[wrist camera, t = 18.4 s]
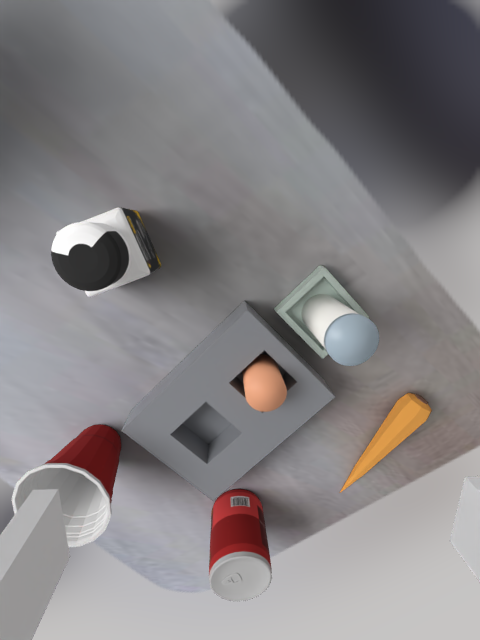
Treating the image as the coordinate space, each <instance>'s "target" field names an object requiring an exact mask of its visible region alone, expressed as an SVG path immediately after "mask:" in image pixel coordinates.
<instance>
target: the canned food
mask: <svg viewBox="0 0 480 640" xmlns="http://www.w3.org/2000/svg"><path fill="white" fill-rule="evenodd" d="M271 574H272V572H271V563H270V555H269V548H268V541H267V535H266V528H265V521H264V514H263V508H262V504H261V502H260V500H259V499H258V497H257V496H256V495H255V494H254V493H252V492H250V491H248V490H243V489H234V490H230V491H227V492H225V493H223V494H222V495H220V496H219V497H218V498H217V500H216V501H215V503H214V506H213V508H212V514H211V538H210V561H209V582H210V587H211V589H212V590H213V592H214V593H215V594H216V595H217V596H219V597H221V598H223V599H226V600H229V601H246V600H250V599H253V598H255V597H257V596H259V595H260V594H262V593H263V592H264V591H265V590H266V589H267V588H268V586H269V585H270V583H271V579H272V575H271Z"/></svg>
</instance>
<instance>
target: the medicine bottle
mask: <svg viewBox="0 0 480 640" xmlns="http://www.w3.org/2000/svg"><path fill="white" fill-rule="evenodd" d="M51 256H52V261H53V264H54V267H55V269H56V271H57V273H58V274H59V275H60V277H61V278H62V279H63V280H64V281H65V282H67V283H68V284H69V285H71V286H73V287H75V288H77V289H80V290H84V291H85V292H86V294H87V296H88V297H93V296H96V295H98V294H101V293H104V292H106V291H109V290H111V289H114V288H117V287H119V286H122V285H124V284H127V283H130V282H132V281H135V280H137V279H140V278H143V277H145V276H148V275H150V274H151V273H153V272H154V271H156V270H157V269H159V268H160V267H161V263H160V261H159V259H158V256H157V254H156V252H155V249H154V247H153V245H152V243H151V240H150V238H149V236H148V233H147V231H146V229H145V227H144V224H143V222H142V220H141V217H140V215H139V213H138V212H137V211H135V210H130V209H125V208H120V207H119V208H115V209H113V210H110V211H108V212H105V213H102V214H100V215H97V216H95V217H92V218H90V219H87V220H85V221H82V222H78V223H73V224H70V225H68V226H66V227H64V228H63V229H62V230H60V231H58V232H56V237H55V239H54V241H53V244H52V250H51Z"/></svg>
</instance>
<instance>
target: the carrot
mask: <svg viewBox="0 0 480 640" xmlns="http://www.w3.org/2000/svg"><path fill="white" fill-rule="evenodd" d="M431 411H432V410H431V408H430V407H429V405H428V402H427V401H426V400H425V399H424V398H422V397H421V396H419V395H417V394H416V395H414V394H411V393H407V394H406V395H404V396H403V397H401V398H400V399H398V401H397V402H396V404H395V405H394V407H393V408H392V410H391V411H390V413H389V414H388V416H387V418H386V419H385V421H384V422H383V424H382V425H381V427H380V428H379V430H378V431H377V433H376V434H375V436H374V437H373V439H372V440H371V442H370V444H369V445H368V447H367V448H366V450H365V451H364V453H363V454H362V456H361V457H360V459H359V460H358V462H357V463H356V465H355V467H354V468H353V470H352V472H351V474H350V476H349V477H348V479H347V481H346V483H345V484H344V486H343V488H342V490H341V491H340V492H342V491H343V490H344V489H346V488H347V487H348V486H350V485H351V484H352V483H353V482H355V481H356V480H357V479H359V478H360V477H361V476H363V475H364V474H365V473H366V472H368V471H369V470H370V469H371V468H372V467H373V466H374V465H376V464H377V463H378V462H379V461H380V460H381V459H382V458H384V457H385V456H386V455H387V454H388V453H389V452H391V451H392V450H393V449H394V448H395V447H396V446H397V445H399V444H400V443H401V442H402V441H403V440H404V439H406V438H407V437H408V436H409V435H410V434H411V433H412V432H414V431H415V430H416V429H417V428H418V427H419V426H420V425H422V424H423V423H424V422H425V421H426V420H427V419H428V417H429V415H430V413H431Z"/></svg>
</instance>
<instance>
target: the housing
mask: <svg viewBox="0 0 480 640" xmlns="http://www.w3.org/2000/svg"><path fill="white" fill-rule="evenodd" d="M260 354H264V355H268V356H270V357H272V358H273V359H274V360H275V362H276V363H277V365H278V368H279V370H280V373H281V375H282V378H283V380H284V383H285V385H286V389H287V396H286V399H285V401H284V402H283V404H282V405H281V406H280V407H278V408H277V409H275V410H272V411H268V412H262V411H258V410H255V409H254V408H252V407H251V406H250V405H249V404H248V402H247V400H246V396H245V389H244V382H243V375H242V370H243V369H245V368H246V367H247V366H248V365H249V364H250V363H251V362H252V361H253V360H254V359H255V358H256V357H258V356H259V355H260ZM333 398H335V396H334V394H333V393H332V391H331V390H330V388H329V387H328V385H327V384H326V382H325V381H324V379H323V378H322V377H321V376H320V375H319V374H318V373H317V372H316V371H315V370H314V369H313V368H312V367H311V366H310V365H309V364H308V363H307V362H306V361H305V360H304V359H303V358H302V357H301V356H300V355H299V354H298V353H297V352H296V351H295V350H294V349H293V348H292V347H291V346H290V345H289V344H288V343H287V342H286V341H285V340H284V339H283V338H282V337H281V336H280V335H279V334H278V333H277V332H276V331H275V330H274V329H273V328H272V327H271V326H270V325H269V324H268V323H267V322H266V321H265V320H264V319H263V318H262V317H261V316H259V315H258V314H257V313H256V312H255V311H254V310H253V309H252V308H251V307H250V306H249V305H248V304H247V303H246V302H245V301H244V302H242V303H241V304H240V305H239V306H238V307H237V308H236V309H235V310H234V311H233V312H232V313H231V314H230V315H229V316H228V317H227V318H226V319H225V320H224V321H223V322H222V323H221V324H220V325H219V326H218V327H217V328H216V329H215V330H214V331H213V332H211V333H210V334H209V335H208V336H207V337H206V338H205V339H204V340H203V341H202V342H201V343H200V344H199V345H198V346H197V347H196V348H195V349H194V350H193V351H192V352H191V353H190V354H189V355H188V356H187V357H186V358H185V359H184V360H183V361H181V362H180V363H179V364H178V365H177V366H176V367H175V368H174V369H173V370H172V371H171V372H170V373H169V374H168V375H167V376H166V377H165V378H164V379H163V380H162V381H161V382H160V383H159V384H158V385H157V386H156V387H155V388H154V389H153V390H152V391H150V392H149V393H148V394H147V395H146V396H145V397H144V398H143V399H142V400H141V401H140V402H139V403H138V404H137V405H136V406H135V407H134V408H133V409H132V410H131V412H130V414H129V416H128V418H127V420H126V422H125V424H124V426H123V428H122V430H121V431H122V432H123V433H125V434H126V435H127V436H129V437H130V438H131V439H133V440H134V441H135V442H136V443H138V444H139V445H140V446H142V447H143V448H144V449H146V450H147V451H148V452H150V453H151V454H152V455H153V456H155V457H156V458H157V459H159V460H160V461H161V462H163V463H164V464H165V465H167V466H168V467H169V468H170V469H172V470H173V471H174V472H176V473H177V474H178V475H180V476H181V477H182V478H184V479H185V480H186V481H187V482H189V483H190V484H191V485H193V486H194V487H195V488H197V489H198V490H199V491H200V492H202V493H203V494H204V495H206V496H207V497H208V498H210V499H211V500H212V501H214V500H215V499H216V498H217V497H218V496H220V495H221V494H222V493H223V492H224V491H225V490H227V489H228V488H229V487H230V486H231V485H233V484H234V483H235V482H236V481H237V480H238V479H240V478H241V477H242V476H243V475H244V474H245V473H247V472H248V471H249V470H250V469H251V468H252V467H254V466H255V465H256V464H257V463H258V462H260V461H261V460H262V459H263V458H264V457H265V456H267V455H268V454H269V453H270V452H271V451H272V450H274V449H275V448H276V447H277V446H278V445H279V444H281V443H282V442H283V441H284V440H285V439H287V438H288V437H289V436H290V435H291V434H292V433H294V432H295V431H296V430H297V429H298V428H299V427H301V426H302V425H303V424H304V423H305V422H306V421H308V420H309V419H310V418H311V417H312V416H314V415H315V414H316V413H317V412H318V411H319V410H321V409H322V408H323V407H324V406H325V405H326V404H328V403H329V402H330V401H331V400H332V399H333Z"/></svg>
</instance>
